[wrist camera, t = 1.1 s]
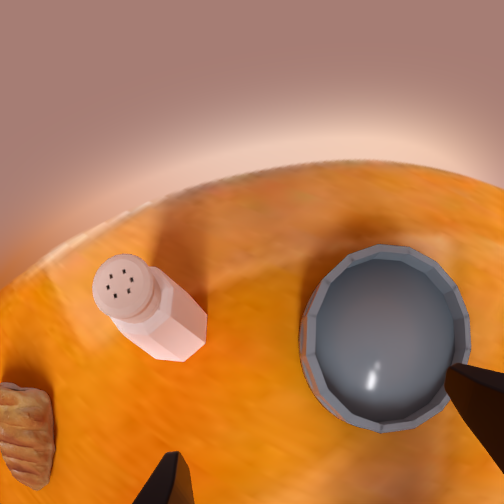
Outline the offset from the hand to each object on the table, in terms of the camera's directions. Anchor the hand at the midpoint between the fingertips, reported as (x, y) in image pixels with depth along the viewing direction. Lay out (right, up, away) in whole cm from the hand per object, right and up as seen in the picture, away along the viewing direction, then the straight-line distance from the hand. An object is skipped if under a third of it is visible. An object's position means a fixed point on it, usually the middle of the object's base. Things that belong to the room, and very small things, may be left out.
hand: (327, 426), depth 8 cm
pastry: (-21, -10, +10) cm, 25 cm away
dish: (+8, -2, +14) cm, 16 cm away
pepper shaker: (-8, 0, +14) cm, 16 cm away
